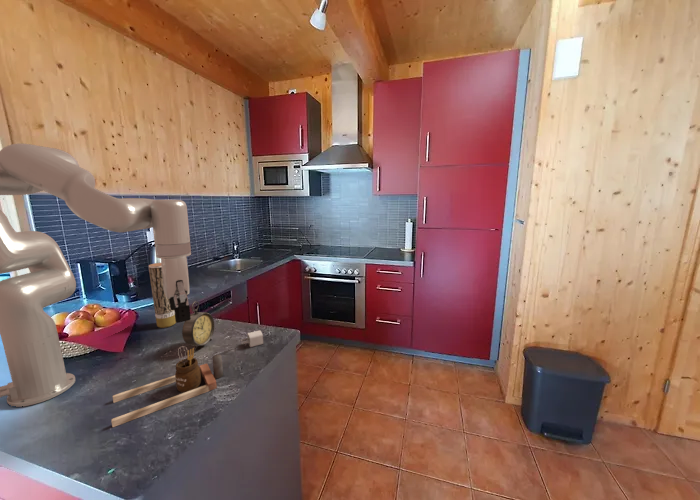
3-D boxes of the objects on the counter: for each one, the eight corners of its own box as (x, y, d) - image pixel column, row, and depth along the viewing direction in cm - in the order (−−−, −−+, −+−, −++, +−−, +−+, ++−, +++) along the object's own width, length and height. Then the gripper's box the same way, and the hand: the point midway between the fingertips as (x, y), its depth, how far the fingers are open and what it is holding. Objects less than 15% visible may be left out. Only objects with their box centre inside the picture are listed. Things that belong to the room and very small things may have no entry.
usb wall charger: (263, 344, 101) (262, 334, 101) (242, 350, 98) (241, 339, 97) (260, 339, 105) (259, 329, 104) (240, 345, 101) (239, 334, 101)
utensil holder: (194, 376, 84) (190, 338, 81) (206, 384, 80) (202, 344, 78) (172, 387, 79) (167, 346, 77) (184, 396, 75) (178, 354, 73)
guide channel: (112, 427, 65) (108, 403, 64) (113, 400, 74) (109, 379, 73) (228, 383, 80) (226, 364, 79) (218, 365, 89) (216, 347, 88)
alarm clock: (195, 355, 95) (190, 308, 92) (181, 353, 96) (175, 307, 93) (217, 339, 105) (212, 296, 102) (203, 338, 106) (199, 295, 103)
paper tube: (152, 326, 116) (144, 265, 111) (169, 320, 122) (161, 261, 117) (164, 329, 113) (156, 267, 109) (180, 322, 119) (173, 263, 115)
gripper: (152, 246, 77) (159, 307, 80) (159, 257, 64) (167, 330, 67) (184, 243, 82) (190, 301, 85) (197, 253, 68) (203, 322, 71)
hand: (180, 314), depth 76 cm, fingers open, 9 cm apart
